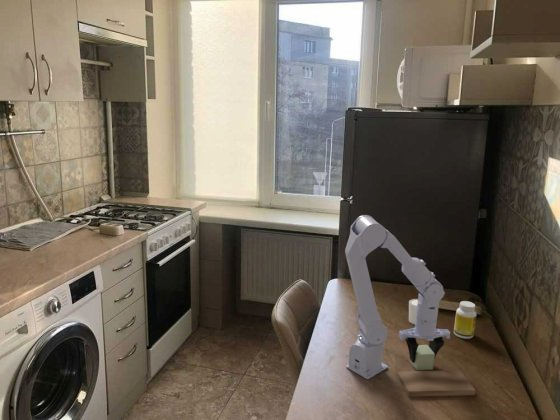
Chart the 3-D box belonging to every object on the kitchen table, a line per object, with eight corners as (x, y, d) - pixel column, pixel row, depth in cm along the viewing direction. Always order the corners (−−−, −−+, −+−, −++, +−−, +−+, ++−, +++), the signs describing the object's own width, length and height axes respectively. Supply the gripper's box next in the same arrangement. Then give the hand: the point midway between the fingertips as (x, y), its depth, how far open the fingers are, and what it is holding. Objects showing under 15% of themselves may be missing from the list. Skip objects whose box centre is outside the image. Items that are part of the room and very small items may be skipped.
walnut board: (474, 395, 123) (475, 390, 122) (408, 396, 121) (408, 391, 121) (459, 375, 131) (459, 370, 131) (397, 376, 130) (397, 371, 130)
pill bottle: (475, 340, 151) (479, 309, 148) (455, 338, 152) (459, 306, 149) (471, 331, 157) (475, 301, 154) (452, 329, 158) (456, 298, 155)
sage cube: (416, 370, 133) (417, 354, 132) (409, 360, 138) (411, 345, 137) (432, 369, 134) (434, 353, 133) (425, 359, 139) (427, 344, 138)
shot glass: (419, 315, 167) (421, 297, 165) (431, 324, 160) (433, 306, 159) (403, 318, 165) (404, 299, 163) (414, 327, 158) (416, 308, 157)
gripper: (407, 325, 128) (402, 369, 131) (457, 323, 129) (451, 367, 133) (398, 313, 135) (393, 355, 138) (445, 312, 136) (440, 353, 139)
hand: (421, 360), depth 136 cm, fingers closed on sage cube, 5 cm apart
